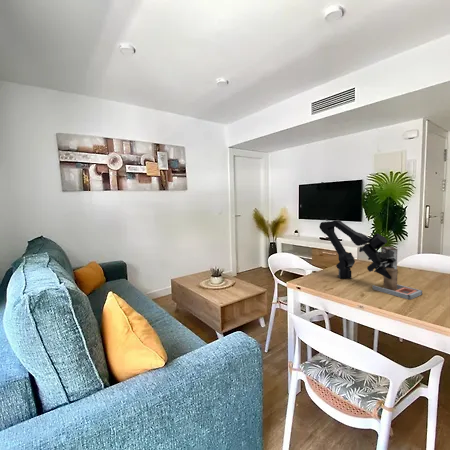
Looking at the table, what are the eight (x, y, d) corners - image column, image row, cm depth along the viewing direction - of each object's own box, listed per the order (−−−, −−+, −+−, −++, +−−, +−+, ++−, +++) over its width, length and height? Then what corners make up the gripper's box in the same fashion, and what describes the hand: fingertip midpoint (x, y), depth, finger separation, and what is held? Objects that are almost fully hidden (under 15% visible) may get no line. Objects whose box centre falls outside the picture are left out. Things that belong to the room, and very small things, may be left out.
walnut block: (383, 288, 134) (383, 268, 133) (388, 287, 137) (388, 267, 135) (392, 291, 130) (392, 270, 129) (397, 289, 133) (397, 269, 131)
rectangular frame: (394, 294, 127) (394, 291, 127) (404, 290, 132) (404, 287, 132) (408, 298, 122) (408, 294, 122) (417, 294, 126) (417, 290, 126)
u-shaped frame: (372, 289, 136) (372, 285, 136) (384, 284, 142) (385, 281, 141) (409, 299, 120) (409, 295, 120) (422, 294, 126) (422, 290, 126)
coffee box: (380, 269, 170) (381, 246, 169) (391, 269, 169) (391, 246, 167) (386, 273, 161) (386, 249, 160) (397, 273, 160) (398, 249, 158)
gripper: (373, 247, 130) (395, 273, 122) (392, 243, 139) (415, 266, 131) (358, 259, 138) (378, 284, 129) (378, 254, 147) (398, 277, 138)
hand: (393, 277), depth 132 cm, fingers closed on walnut block, 4 cm apart
